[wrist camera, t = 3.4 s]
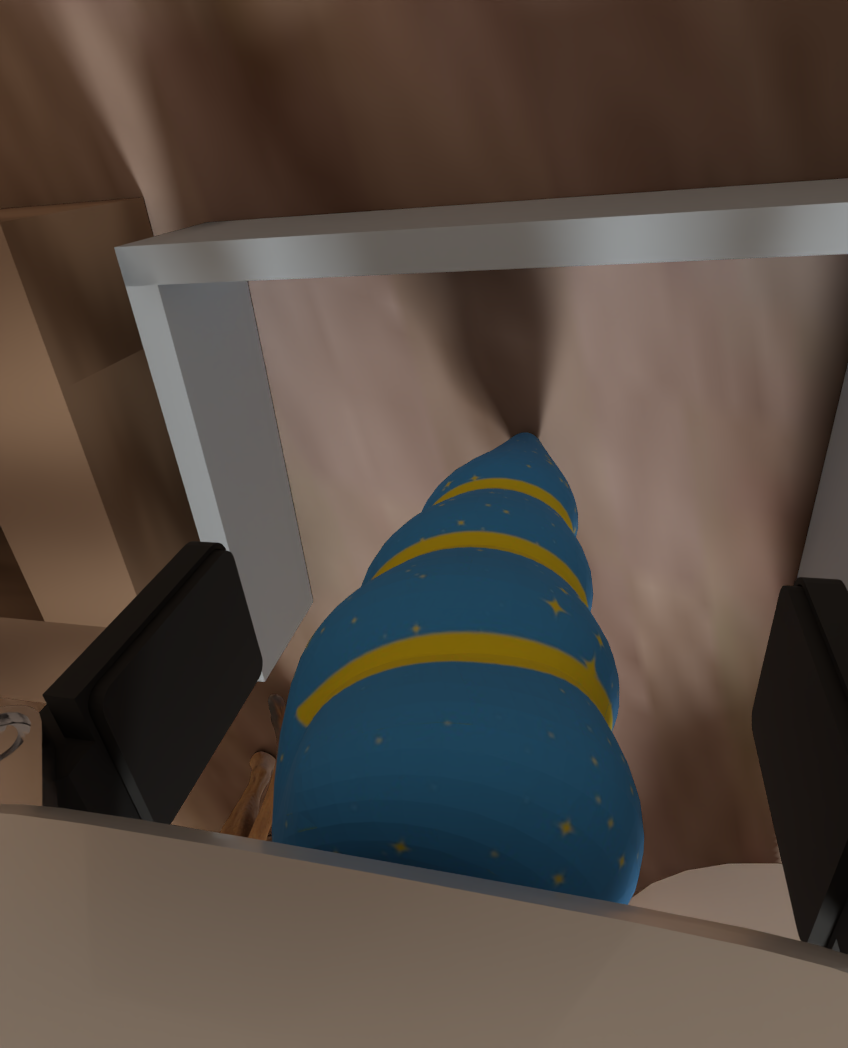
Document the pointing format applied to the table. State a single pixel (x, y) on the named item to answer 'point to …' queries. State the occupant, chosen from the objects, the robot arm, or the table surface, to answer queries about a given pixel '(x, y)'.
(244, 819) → the lion figurine
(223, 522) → the grey arch frame
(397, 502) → the table surface
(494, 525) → the ornament
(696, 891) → the honey pot
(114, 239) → the hole deck
